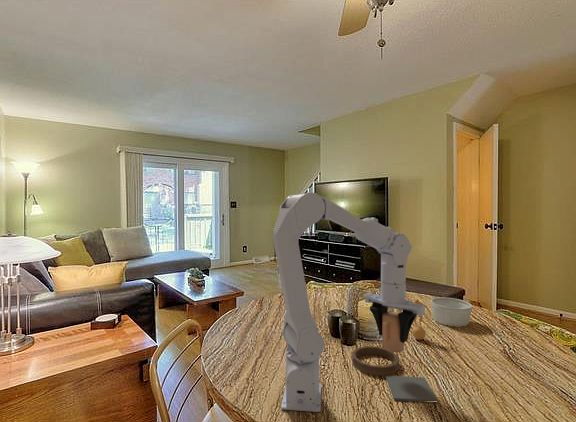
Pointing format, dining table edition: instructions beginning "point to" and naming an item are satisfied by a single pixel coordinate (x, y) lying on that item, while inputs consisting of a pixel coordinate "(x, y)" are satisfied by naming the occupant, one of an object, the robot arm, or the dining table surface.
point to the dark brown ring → (374, 368)
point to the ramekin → (451, 311)
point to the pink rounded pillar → (391, 332)
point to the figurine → (418, 330)
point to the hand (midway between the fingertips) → (392, 337)
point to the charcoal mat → (410, 388)
